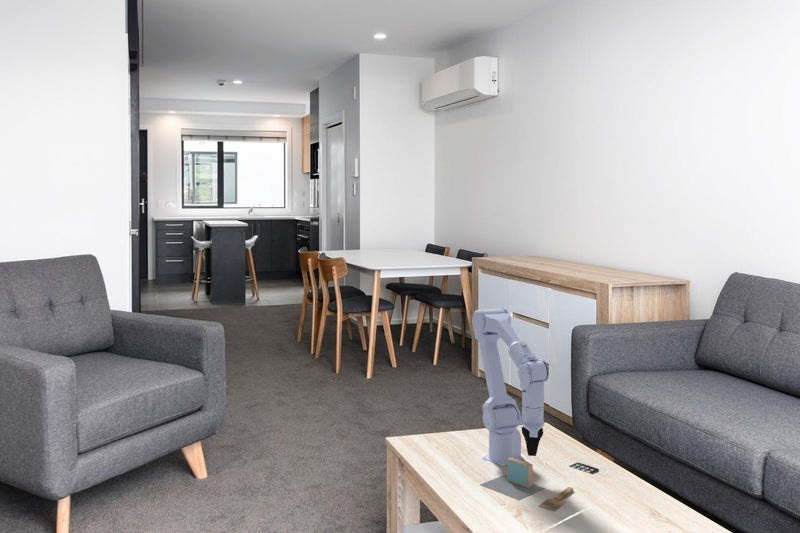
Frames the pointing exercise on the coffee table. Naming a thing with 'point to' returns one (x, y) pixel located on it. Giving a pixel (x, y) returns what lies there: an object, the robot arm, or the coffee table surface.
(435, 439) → the coffee table surface
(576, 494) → the coffee table surface
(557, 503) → the walnut turner
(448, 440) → the coffee table surface
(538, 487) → the mat
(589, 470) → the smartphone
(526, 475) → the tile
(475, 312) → the robot arm
